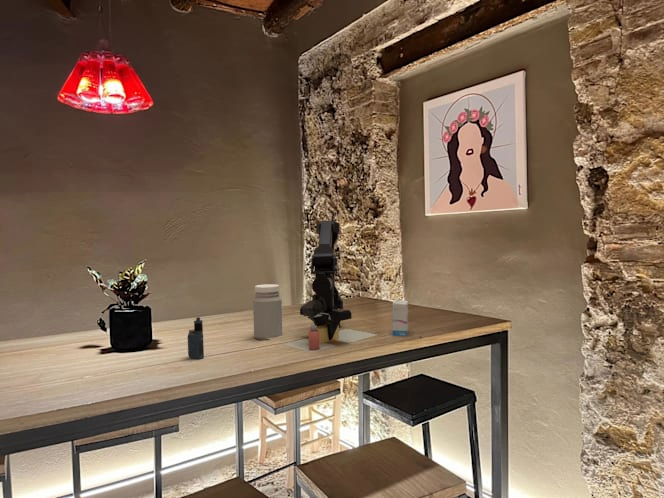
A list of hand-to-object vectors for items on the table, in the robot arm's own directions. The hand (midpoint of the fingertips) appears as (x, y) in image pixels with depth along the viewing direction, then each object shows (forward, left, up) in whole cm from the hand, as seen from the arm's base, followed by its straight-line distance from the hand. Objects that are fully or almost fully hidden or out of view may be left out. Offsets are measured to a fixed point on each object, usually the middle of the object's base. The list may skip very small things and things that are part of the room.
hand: (325, 338), depth 155 cm
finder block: (0, 0, 0) cm, 0 cm away
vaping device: (-16, -37, -2) cm, 41 cm away
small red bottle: (+6, -10, 0) cm, 12 cm away
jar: (-21, -7, -2) cm, 22 cm away
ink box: (+12, +24, -2) cm, 27 cm away
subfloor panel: (+1, +2, -1) cm, 2 cm away
